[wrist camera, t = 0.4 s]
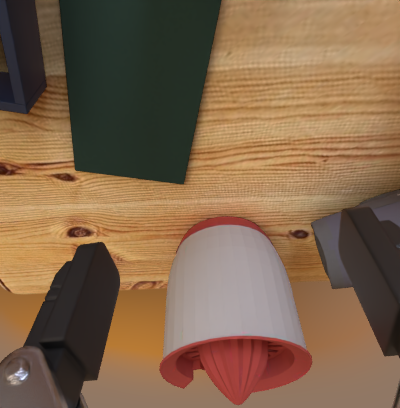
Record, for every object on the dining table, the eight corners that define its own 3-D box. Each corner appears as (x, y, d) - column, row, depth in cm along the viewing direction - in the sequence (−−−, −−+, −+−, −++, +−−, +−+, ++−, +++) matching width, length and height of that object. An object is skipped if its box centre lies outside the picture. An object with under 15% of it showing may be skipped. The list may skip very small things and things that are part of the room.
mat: (55, -61, 22) (53, -60, 22) (225, -23, 24) (225, -21, 24) (76, 167, 36) (74, 170, 36) (183, 181, 38) (183, 184, 37)
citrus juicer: (149, 267, 50) (132, 422, 35) (193, 187, 39) (195, 366, 24) (239, 287, 54) (257, 432, 40) (302, 222, 43) (358, 389, 29)
